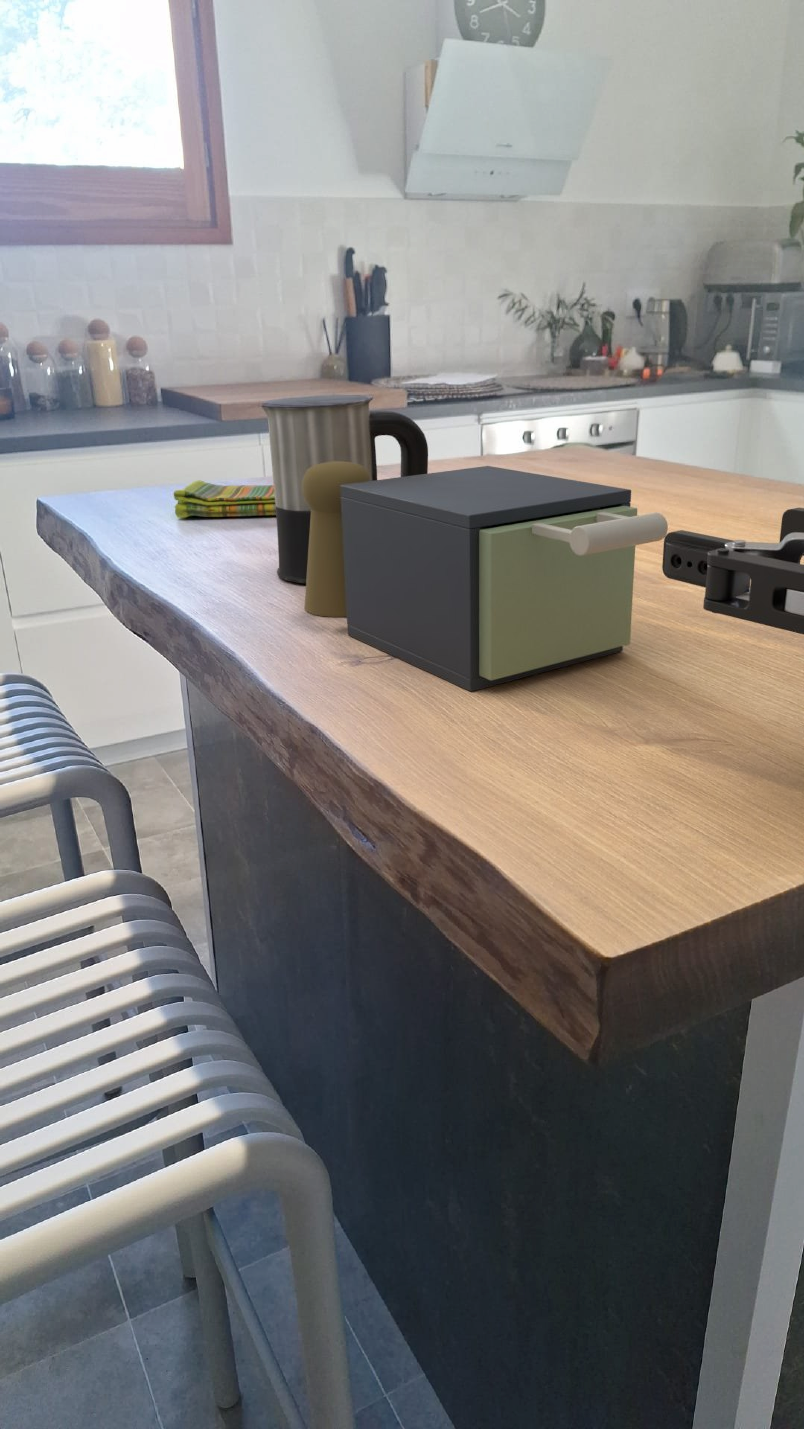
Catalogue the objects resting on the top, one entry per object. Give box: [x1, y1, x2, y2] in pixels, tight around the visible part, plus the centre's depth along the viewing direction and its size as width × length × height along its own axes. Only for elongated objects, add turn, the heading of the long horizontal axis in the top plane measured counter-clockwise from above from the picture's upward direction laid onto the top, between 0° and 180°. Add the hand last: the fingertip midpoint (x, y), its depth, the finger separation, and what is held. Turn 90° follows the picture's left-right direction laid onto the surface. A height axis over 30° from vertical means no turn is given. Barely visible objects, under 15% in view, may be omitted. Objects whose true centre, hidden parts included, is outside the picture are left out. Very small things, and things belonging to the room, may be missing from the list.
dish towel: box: [173, 479, 276, 519], centre depth 122 cm, size 15×36×3 cm, turn 91°
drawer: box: [479, 506, 669, 680], centre depth 64 cm, size 18×11×9 cm, turn 33°
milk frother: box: [260, 394, 429, 585], centre depth 91 cm, size 14×16×15 cm
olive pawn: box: [302, 461, 371, 618], centre depth 78 cm, size 6×6×11 cm
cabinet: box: [340, 465, 632, 692], centre depth 68 cm, size 15×13×11 cm
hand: (728, 540), depth 50 cm, fingers open, 8 cm apart
